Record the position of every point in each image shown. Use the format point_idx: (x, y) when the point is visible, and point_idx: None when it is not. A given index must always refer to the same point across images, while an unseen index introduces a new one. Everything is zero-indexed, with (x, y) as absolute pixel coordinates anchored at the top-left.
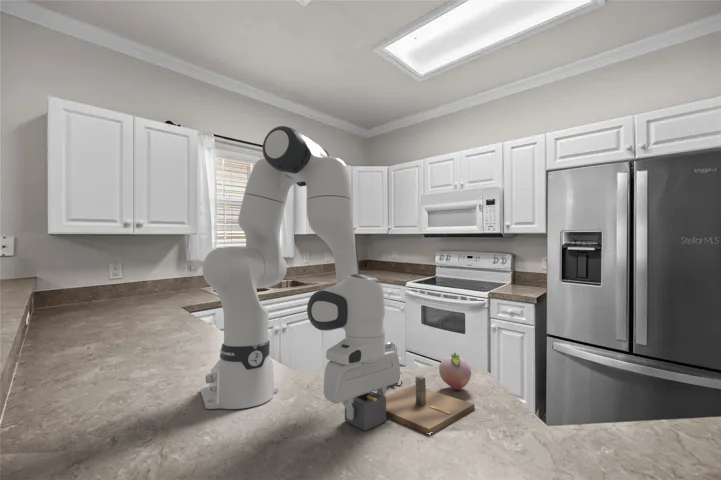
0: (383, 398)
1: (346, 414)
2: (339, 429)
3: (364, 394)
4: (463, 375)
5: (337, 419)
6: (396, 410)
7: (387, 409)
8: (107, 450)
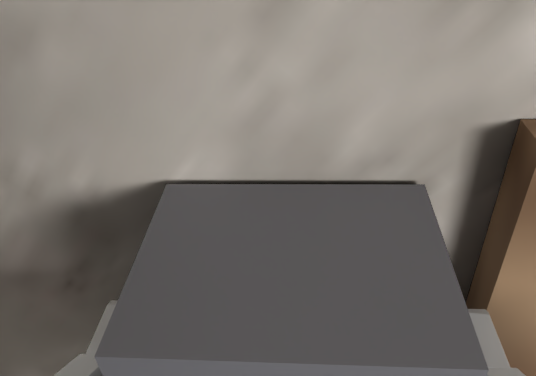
0: None
1: (103, 313)
2: (75, 238)
3: None
4: None
5: (132, 116)
6: (532, 372)
7: (507, 335)
8: None
